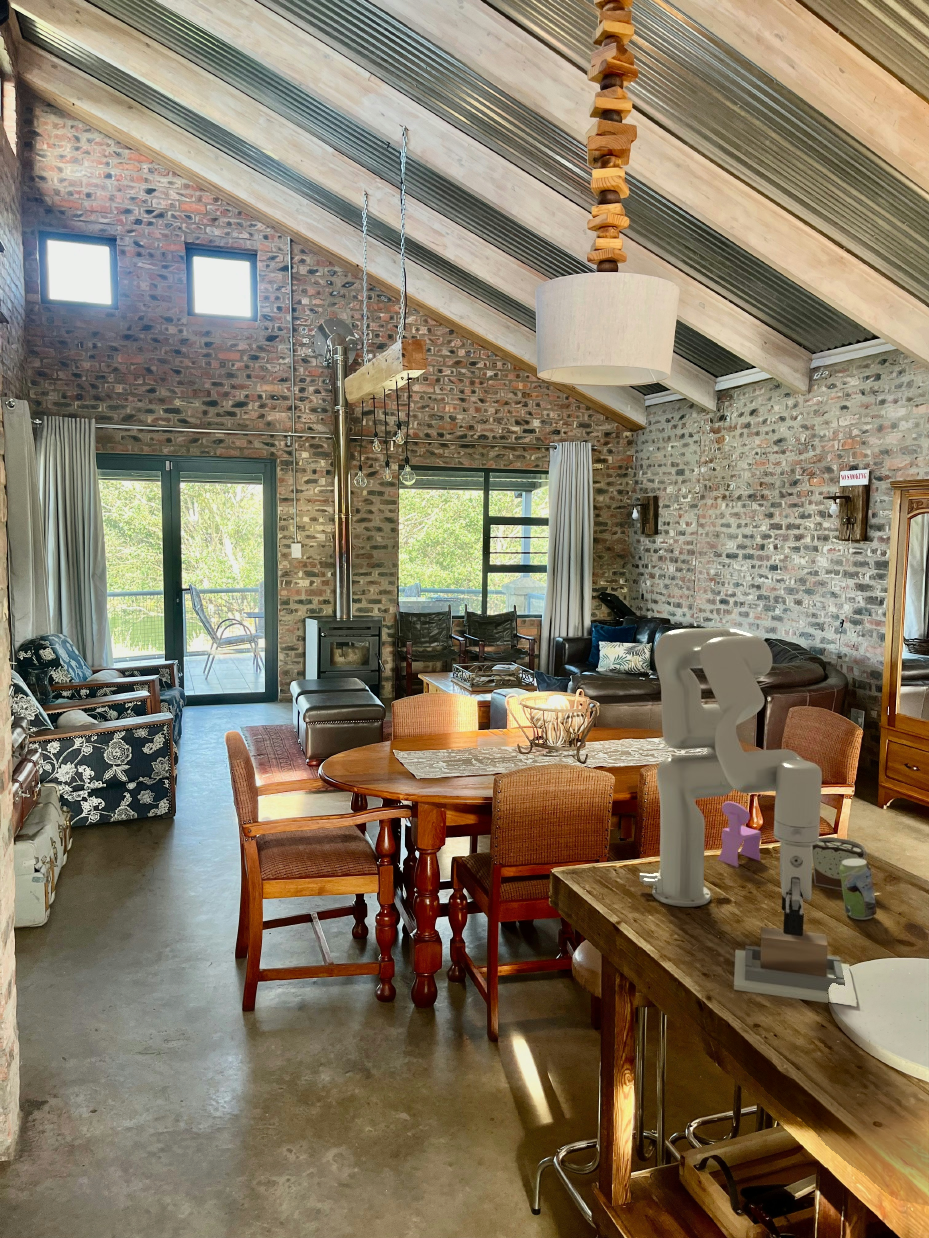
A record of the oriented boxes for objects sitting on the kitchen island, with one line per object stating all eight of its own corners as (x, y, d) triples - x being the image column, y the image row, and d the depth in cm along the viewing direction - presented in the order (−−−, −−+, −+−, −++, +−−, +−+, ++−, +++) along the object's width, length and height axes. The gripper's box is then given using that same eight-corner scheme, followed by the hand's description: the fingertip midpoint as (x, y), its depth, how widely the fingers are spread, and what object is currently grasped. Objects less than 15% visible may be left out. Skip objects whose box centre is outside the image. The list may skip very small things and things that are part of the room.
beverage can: (879, 923, 185) (881, 867, 184) (841, 920, 187) (843, 864, 186) (872, 911, 191) (874, 856, 190) (835, 908, 193) (837, 854, 192)
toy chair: (765, 861, 222) (766, 801, 221) (741, 868, 217) (742, 807, 216) (738, 851, 229) (739, 793, 228) (714, 858, 224) (715, 799, 223)
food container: (870, 885, 206) (871, 842, 205) (866, 894, 201) (867, 850, 200) (813, 874, 213) (814, 833, 212) (808, 883, 208) (809, 840, 207)
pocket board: (733, 989, 158) (734, 973, 158) (735, 954, 172) (735, 939, 171) (857, 1006, 152) (857, 989, 152) (848, 969, 166) (849, 953, 165)
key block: (826, 983, 158) (827, 945, 158) (760, 974, 162) (761, 936, 161) (824, 971, 163) (825, 934, 162) (760, 963, 166) (761, 926, 165)
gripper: (822, 850, 151) (817, 947, 153) (815, 817, 167) (811, 905, 169) (775, 844, 153) (770, 940, 155) (773, 813, 169) (769, 900, 171)
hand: (791, 922), depth 162 cm, fingers open, 9 cm apart
